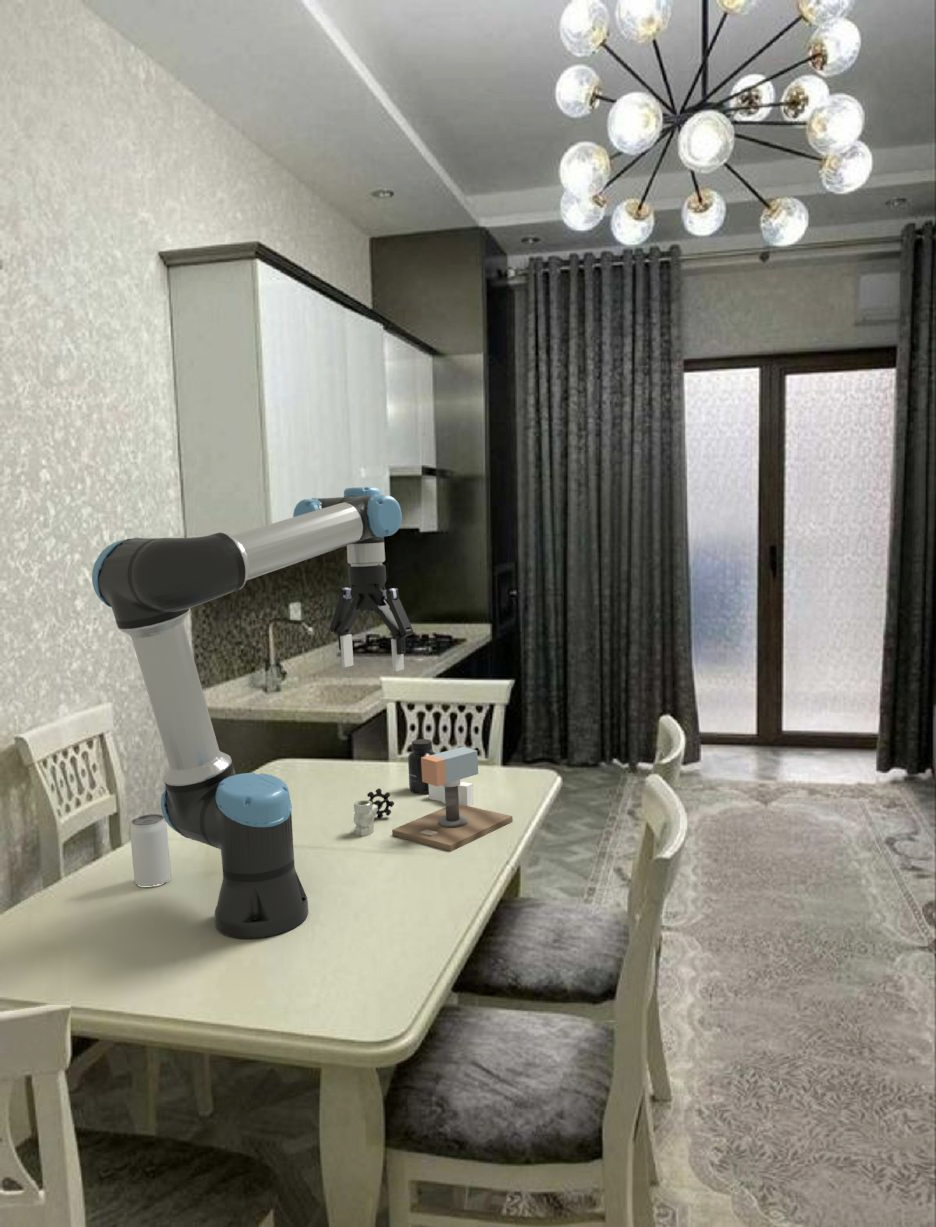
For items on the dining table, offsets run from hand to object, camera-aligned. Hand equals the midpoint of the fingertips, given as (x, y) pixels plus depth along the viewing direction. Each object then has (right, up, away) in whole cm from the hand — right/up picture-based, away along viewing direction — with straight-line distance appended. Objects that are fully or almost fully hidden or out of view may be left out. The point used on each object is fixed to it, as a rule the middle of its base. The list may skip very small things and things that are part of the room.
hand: (372, 668), depth 186 cm
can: (-39, -39, -16) cm, 58 cm away
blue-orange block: (+16, -24, +3) cm, 29 cm away
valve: (-1, -34, +8) cm, 35 cm away
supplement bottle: (+9, -31, +31) cm, 45 cm away
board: (+16, -34, +5) cm, 38 cm away
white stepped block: (+16, -32, +23) cm, 43 cm away
